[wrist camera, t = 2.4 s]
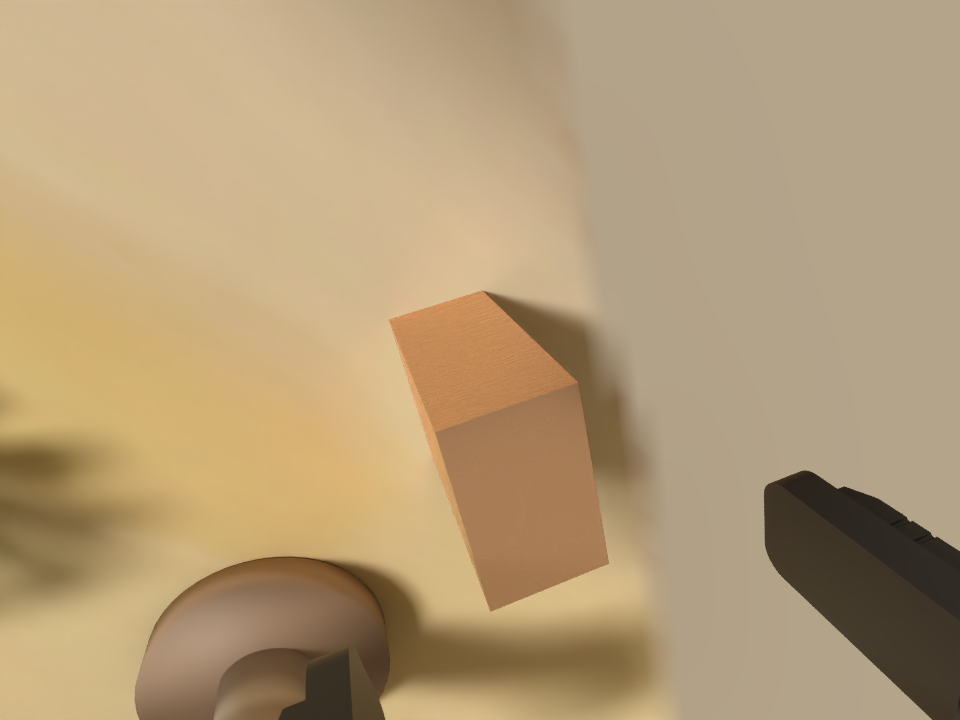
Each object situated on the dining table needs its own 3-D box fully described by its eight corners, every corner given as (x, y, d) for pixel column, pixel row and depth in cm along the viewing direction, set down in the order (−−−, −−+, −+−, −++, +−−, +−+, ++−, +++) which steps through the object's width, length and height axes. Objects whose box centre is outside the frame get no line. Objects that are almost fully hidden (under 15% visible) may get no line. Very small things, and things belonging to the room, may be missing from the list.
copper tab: (388, 319, 17) (434, 432, 11) (482, 290, 17) (578, 382, 11) (431, 453, 19) (490, 611, 13) (513, 424, 20) (609, 563, 13)
